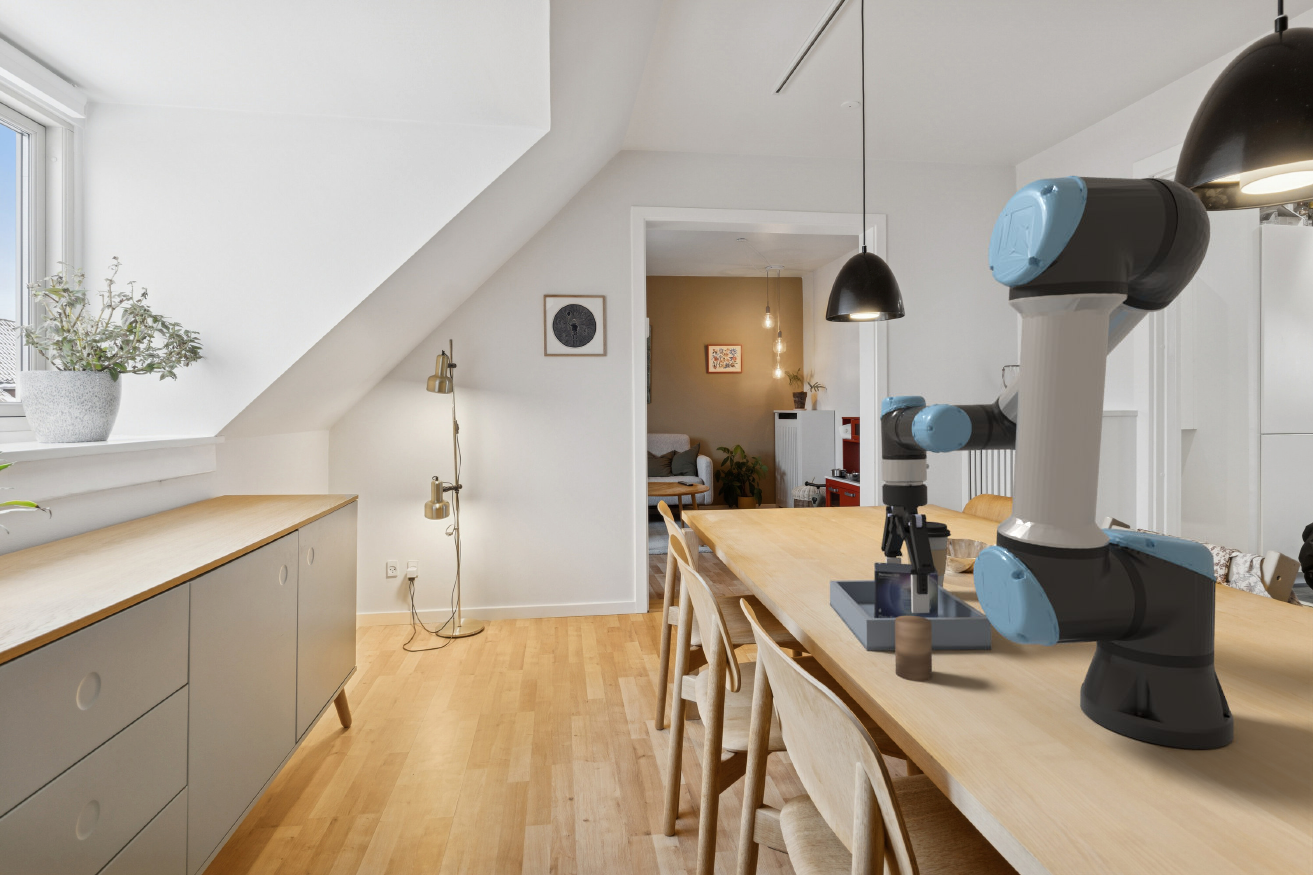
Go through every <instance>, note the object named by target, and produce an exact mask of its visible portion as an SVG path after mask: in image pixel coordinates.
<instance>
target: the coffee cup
mask: <svg viewBox="0 0 1313 875" xmlns="http://www.w3.org/2000/svg"><path fill="white" fill-rule="evenodd" d="M926 522H927V532H928V537H929V542H930V547H931V553H932V558H933V563H934V566H935V568H936V570H937V572H938V585H939V586H941V587H943V588H944V581H945V580H944V578H945V575H946V567H947V558H948V557H947V556H948V540H949V539H948V537H950V536H952V534H951V530H950V529H948V524H946V523H942V522H937V521H927V520H926ZM906 554H907V555H906V556H907V560H908V563H907V564H911V561H910V558H909V554H908V550H907V549H906Z"/></svg>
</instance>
